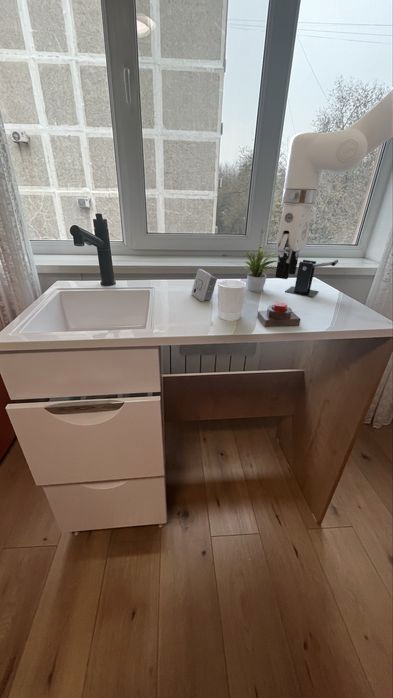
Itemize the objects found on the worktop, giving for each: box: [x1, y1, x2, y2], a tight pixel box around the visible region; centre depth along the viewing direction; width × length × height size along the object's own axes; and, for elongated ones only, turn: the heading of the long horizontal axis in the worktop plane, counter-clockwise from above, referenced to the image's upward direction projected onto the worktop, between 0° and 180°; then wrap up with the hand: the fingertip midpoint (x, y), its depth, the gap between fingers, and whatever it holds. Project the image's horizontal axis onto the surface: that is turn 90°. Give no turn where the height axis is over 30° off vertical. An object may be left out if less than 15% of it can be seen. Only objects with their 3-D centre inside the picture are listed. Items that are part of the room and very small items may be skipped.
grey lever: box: [310, 259, 339, 268], centre depth 98 cm, size 11×5×2 cm, turn 56°
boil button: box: [273, 301, 288, 312], centre depth 80 cm, size 4×4×2 cm
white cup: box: [217, 279, 247, 322], centre depth 82 cm, size 8×8×10 cm
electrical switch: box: [191, 268, 218, 303], centre depth 98 cm, size 9×5×9 cm, turn 22°
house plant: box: [243, 245, 278, 292], centre depth 102 cm, size 14×14×16 cm
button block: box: [256, 304, 301, 328], centre depth 81 cm, size 10×7×4 cm
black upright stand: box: [284, 259, 319, 298], centre depth 102 cm, size 10×8×12 cm
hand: (285, 275), depth 76 cm, fingers open, 5 cm apart
